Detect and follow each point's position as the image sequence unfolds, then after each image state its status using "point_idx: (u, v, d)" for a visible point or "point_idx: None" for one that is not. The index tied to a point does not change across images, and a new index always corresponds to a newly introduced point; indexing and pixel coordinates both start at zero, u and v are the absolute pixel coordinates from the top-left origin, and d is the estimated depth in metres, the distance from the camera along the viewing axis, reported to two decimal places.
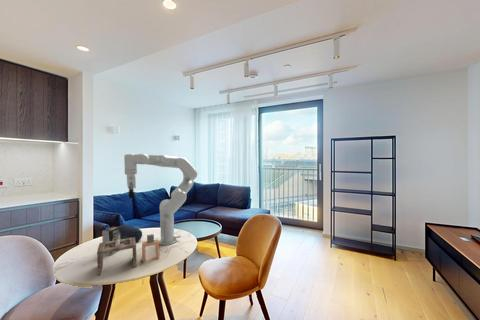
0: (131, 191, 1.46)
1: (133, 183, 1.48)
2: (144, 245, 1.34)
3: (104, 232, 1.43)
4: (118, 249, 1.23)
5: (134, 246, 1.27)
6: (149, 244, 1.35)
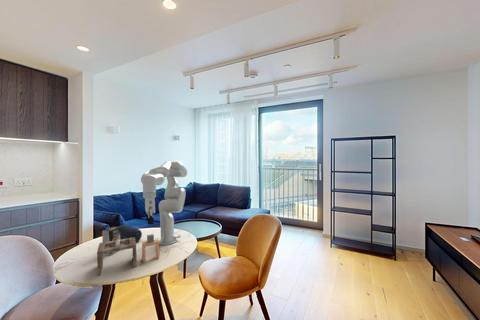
0: (151, 217, 1.31)
1: (153, 208, 1.33)
2: (144, 245, 1.34)
3: (104, 232, 1.43)
4: (118, 249, 1.23)
5: (134, 246, 1.27)
6: (149, 244, 1.35)
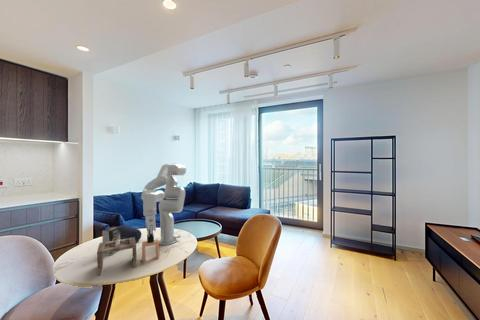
0: (151, 235, 1.34)
1: (153, 225, 1.33)
2: (144, 245, 1.34)
3: (104, 232, 1.43)
4: (118, 249, 1.23)
5: (134, 246, 1.27)
6: (149, 244, 1.35)
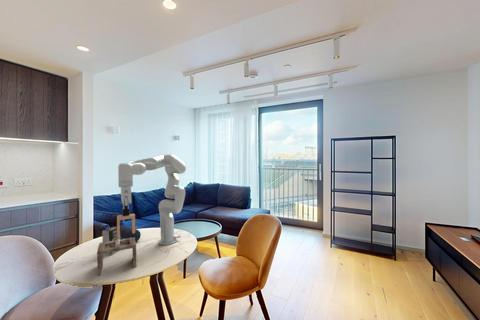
0: (126, 208, 1.27)
1: (128, 197, 1.27)
2: (119, 218, 1.27)
3: (104, 232, 1.43)
4: (118, 249, 1.23)
5: (134, 246, 1.27)
6: (124, 217, 1.28)
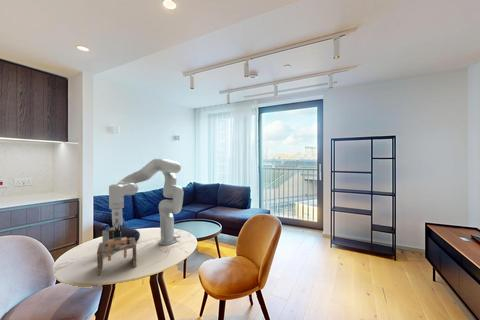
0: (117, 230, 1.23)
1: (119, 220, 1.25)
2: (110, 243, 1.25)
3: (104, 232, 1.43)
4: (118, 249, 1.23)
5: (134, 246, 1.27)
6: (116, 242, 1.27)
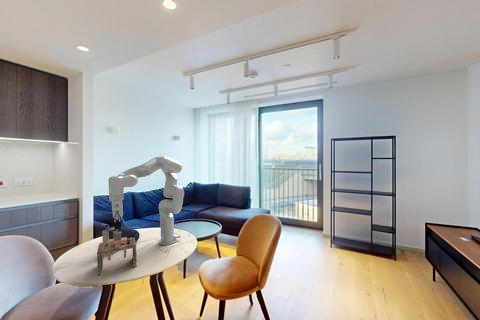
0: (117, 221, 1.23)
1: (119, 211, 1.25)
2: (110, 243, 1.25)
3: (104, 232, 1.43)
4: (118, 249, 1.23)
5: (134, 246, 1.27)
6: (116, 242, 1.27)
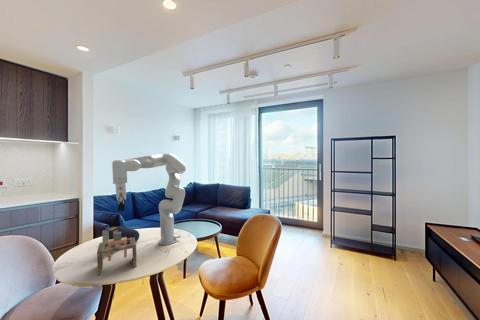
0: (121, 203, 1.27)
1: (123, 194, 1.29)
2: (110, 243, 1.25)
3: (104, 232, 1.43)
4: (118, 249, 1.23)
5: (134, 246, 1.27)
6: (116, 242, 1.27)
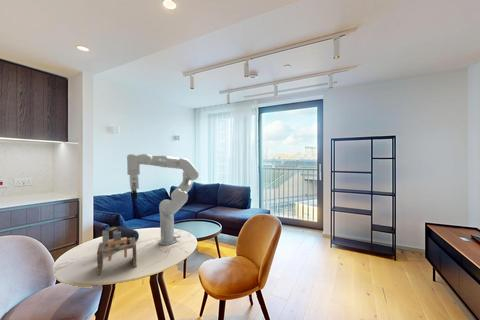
0: (134, 192, 1.44)
1: (136, 184, 1.46)
2: (110, 243, 1.25)
3: (104, 232, 1.43)
4: (118, 249, 1.23)
5: (134, 246, 1.27)
6: (116, 242, 1.27)
